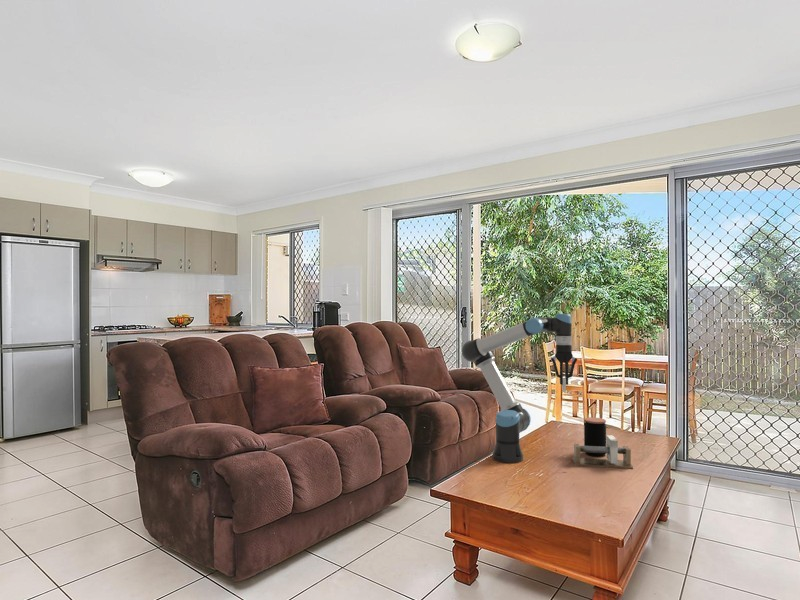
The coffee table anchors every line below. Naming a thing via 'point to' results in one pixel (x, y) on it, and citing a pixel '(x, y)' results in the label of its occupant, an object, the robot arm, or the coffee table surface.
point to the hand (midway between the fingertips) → (564, 391)
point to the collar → (612, 449)
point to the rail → (602, 462)
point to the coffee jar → (595, 434)
